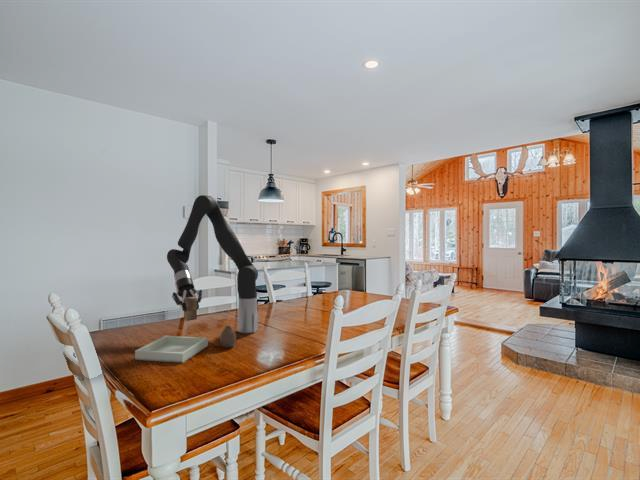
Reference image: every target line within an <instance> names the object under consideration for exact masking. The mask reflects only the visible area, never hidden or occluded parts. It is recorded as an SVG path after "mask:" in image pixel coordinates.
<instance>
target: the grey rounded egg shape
mask: <svg viewBox="0 0 640 480" xmlns="http://www.w3.org/2000/svg"><path fill="white" fill-rule="evenodd" d="M236 341H237V335H236V332H235V330H234V329H233V328H232V326H231V325H226V326H225V327H224V329H223V330H222V332H221V333H220V336H219V343H220V345H221V347H223V348H226V349H229V348H232V347H233V346H234V345H235V344H236Z"/></svg>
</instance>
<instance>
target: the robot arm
mask: <svg viewBox="0 0 640 480" xmlns="http://www.w3.org/2000/svg"><path fill="white" fill-rule="evenodd" d="M205 216H207V217H208V219H209V220H210V223H211V224H212V226H213V227H212V228H213V232H214V236H215V238H216V241H217V242H218V245H219V247H221V249H222V250H223V252H224V253H225V254H226V255H227V256H228V258H230V260H232V262H234V264H235V266H236V269H237V270H238V271H237V276H236V277H237V278H236V281H237V282H236V283H237V285H236V286H237V287H236V288H237V289H236V290H237V294H238V299H237V301H238V302H237V303H238V304H237V305H238V313H237V315H238V316H237V317H238V318H237V319H238V320H237V324H238V325H237V326H238V327H237V328H238V329H237V332H239V334H240V333H241V334H254V333H256V332H257V331H258V330H259V311H257V309H258V304H257V303H258V293H257V288H256V284H257V283H256V281H257V279H258V277H259V273H258V270H257V268H256V267H255V265H254V264H253V262H251V260H250V258H249V257H248V256H247V254H246V252H245V249H244V248H243V246H242V244H241V243H240V241H239V239H238V238H237V236H236V234H235V232H234V231H233V228H231V226H230V224H229V223H228V221H227V220H226V218H225V216H224V214H223V212H222V210H221V208H220V205H219V203H218V202H217V200H216V199H215V197H213V196H211V195H207V194H206V195H205V194H204V195H203V194H200V195H198V196H197V197H196V198H195V199H194V202H193V205H192V208H191V212H190V213H189V217H188V219H187V221H186V222H187V223H186V225H185V227H184V229H183V231H182V233H181V235H180V237H179V239H178V240H177V245H178V247H179V248H181V249H182V250H180V249H175V248H172V249H169V251H168V252H167V255H166V260H167V262H168V264H169V265H170V267H171V269H172V270H173V273H174V278H175V279H174V280H175V284H176V288H177V289H176V290H177V292H175V291H174V292H172V295H171V297H172V299H173V301H174V302H175V305H177V306H181V309H182V311H183V313H184V312H186V310H187V308H186V304H185V300H184V298H187V297H195V298H197V311H198V310H199V308H200V305H199V303H201V301H202V299H203V298H202V296H203V290H202V289H199V290H197V289H196V288H195V285H194V281H193V278H192V275H191V272H190V269H189V265H188V264H187V263H188V262H189V259H190V254H191V251H192V246H193V245H194V242H195V240H196V239H197V236H198V233H199V228H200V224H201V222H202V220H203V218H204V217H205ZM180 298H181V299H180Z"/></svg>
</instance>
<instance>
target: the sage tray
mask: <svg viewBox="0 0 640 480" xmlns="http://www.w3.org/2000/svg"><path fill="white" fill-rule="evenodd" d="M208 341H209V338H208V337H196V336H195V337H194V336H178V335H176V336H175V335H164V336H163V337H160V338H158V339H156V340H154V341H152V342H150V343H148V344H146V345H144V346H141V347H139V348H138V349H136V350H134V353H135V354H134V360H137V361H150V362H152V361H153V362H163V363H164V362H165V363H166V362H167V363H180V364H182V363H185V362H186V361H188V360H190V359H191V358H192V357H194V356H195V355H196V354H199V352H201V351H203V350H204V349H205V348H207V347H209V345H208V344H209V342H208Z"/></svg>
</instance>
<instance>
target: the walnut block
mask: <svg viewBox="0 0 640 480" xmlns="http://www.w3.org/2000/svg"><path fill="white" fill-rule="evenodd" d="M197 299H198V297H196V298H195V297H187V298H184V300H185V304H186V308H187V310H186V312H184V311H183V319H184V321H186V322H189V321H197V319H198V310H197Z"/></svg>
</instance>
